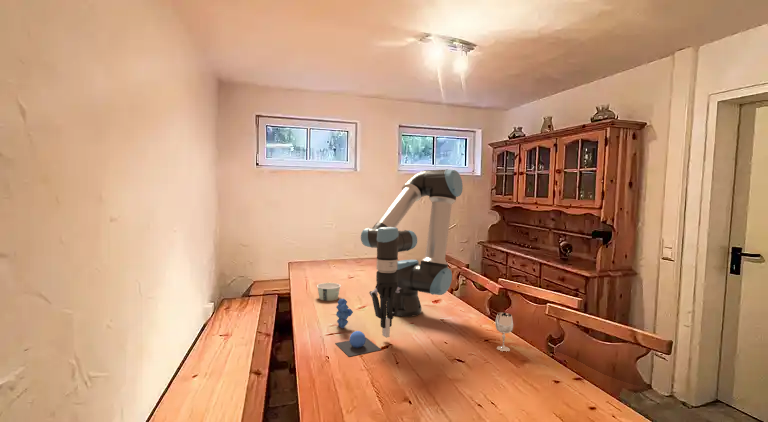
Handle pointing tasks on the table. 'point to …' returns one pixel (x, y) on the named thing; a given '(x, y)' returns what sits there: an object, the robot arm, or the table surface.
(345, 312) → the grapes
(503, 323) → the wineglass
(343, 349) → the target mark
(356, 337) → the ball
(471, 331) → the table surface
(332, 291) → the food container
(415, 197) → the robot arm
